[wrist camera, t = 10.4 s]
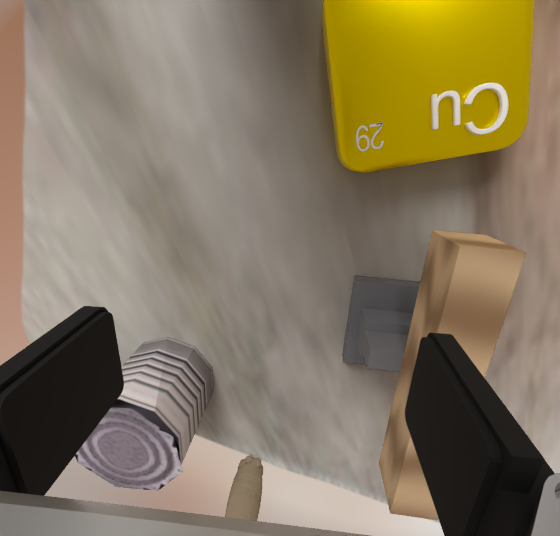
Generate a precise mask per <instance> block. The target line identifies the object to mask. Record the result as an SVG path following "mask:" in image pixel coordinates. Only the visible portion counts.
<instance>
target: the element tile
mask: <svg viewBox="0 0 560 536" xmlns="http://www.w3.org/2000/svg"><path fill="white" fill-rule="evenodd" d="M533 18H534V0H323V10H322V29H323V38H324V47H325V56H326V65H327V74H328V82H329V91H330V100H331V109H332V118H333V127H334V135H335V144H336V153H337V156H338V159H339V161H340V162H341V164H342V165H343V166H344V167H345V168H347V169H349V170H352V171H356V172H373V171H378V170H384V169H390V168H396V167H402V166H408V165H414V164H419V163H425V162H431V161H437V160H443V159H449V158H455V157H460V156H466V155H472V154H478V153H484V152H490V151H496V150H499V149H502V148H506V147H507V146H509V145H511V144H512V143H514V142H516V141H517V140H518V138H519V137H520V136H521V135H522V134H523V131H524V129H525V127H526V125H527V121H528V113H529V94H530V75H531V56H532V37H533Z"/></svg>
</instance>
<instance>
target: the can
mask: <svg viewBox="0 0 560 536" xmlns="http://www.w3.org/2000/svg"><path fill="white" fill-rule="evenodd" d="M121 368H122V374H123V379H124V388H123V391H122V393H121V395H120V396H119V398H118V399H117V400H116V402H115V403H114V404H113V406H112V407H111V408H110V410H109V411H108V412H107V413H106V415H105V416H104V417H103V419H102V420H101V421H100V423H99V424H98V425H97V427H96V428H95V429H94V431H93V432H92V433H91V435H90V436H89V437H88V438H87V440H86V441H85V442H84V444H83V445H82V446H81V448H80V449H79V450H78V452H77V453H76V454H75V457H76V459H77V461H78V463H79V464H81V465H82V466H84V467H85V468H87V469H89V470H90V471H92V472H94V473H95V474H97V475H98V476H100V477H101V478H103V479H105V480H106V481H108V482H109V483H111V484H113V485H114V486H116V487H124V488H136V489H145V490H146V489H147V490H156V491H158V490H159V489H161V488H162V487H163V486H165V485H166V484H167V483H169V482H170V481H171V480H172V479H174V478H175V477H176V476H178V475H179V474H180V473H181V472H182V467H181V464H182V462H183V460H184V457H185V455H186V453H187V450H188V448H189V445H190V443H191V441H192V439H193V436H194V434H195V432H196V429H197V427H198V425H199V422H200V420H201V418H202V415H203V413H204V411H205V408H206V406H207V404H208V401H209V399H210V397H211V394H212V392H213V375H212V367H211V365H210V364H209V363H208V362H207V360H206V359H205V358H204V357H203V356H202V354H201V353H200V352H199V351H198V350H197V348H196V347H195V346H192V345H189V344H186V343H183V342H181V341H178V340H175V339H172V338H170V337H167V338H162V339H158V340H153V341H149V342H145V343H143V344H142V345H141V346H140V347H139V348H138V349H137V351H136V352H135V353H134V354H133V355H132V356H131V357H130V358H129V359H128V360H127V361H126V363H125V364H124V365H123V366H122V367H121Z"/></svg>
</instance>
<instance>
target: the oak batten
mask: <svg viewBox="0 0 560 536" xmlns="http://www.w3.org/2000/svg"><path fill="white" fill-rule="evenodd" d="M525 255H526V252H523V251H521V250H519V249H517V248H514V247H512V246H510V245H508V244H505V243H503V242H501V241H498V240H496V239H494V238H492V237H489V236H487V235H481V234H470V233H459V232H448V231H436V230H432V234H431V238H430V242H429V247H428V251H427V255H426V260H425V264H424V269H423V273H422V277H421V282H420V286H419V290H418V295H417V299H416V303H415V308H414V312H413V317H412V321H411V325H410V330H409V334H408V338H407V343H406V347H405V351H404V356H403V360H402V365H401V369H400V373H399V378H398V382H397V386H396V391H395V395H394V399H393V404H392V408H391V413H390V417H389V421H388V426H387V430H386V434H385V439H384V443H383V447H382V452H381V456H380V461H379V464H380V469H381V474H382V478H383V483H384V487H385V492H386V496H387V501H388V505H389V510H390V513H392V514H399V515H406V516H412V517H419V518H426V519H433V520H438V515H437V512H436V509H435V506H434V503H433V500H432V497H431V494H430V491H429V488H428V486H427V483H426V480H425V477H424V474H423V471H422V468H421V465H420V462H419V459H418V456H417V453H416V450H415V447H414V444H413V441H412V439H411V436H410V433H409V430H408V427H407V424H406V420H405V407H406V402H407V398H408V393H409V389H410V385H411V380H412V376H413V371H414V367H415V362H416V358H417V353H418V349H419V344H420V340H421V338H422V337H427V335H428V334H429V333H430V332H431V333H444V334H452V335H453V336H454V338H455V339H456V340H457V342H458V343H459V344H460V346H461V347H462V348H463V350H464V351H465V352H466V354H467V355H468V356H469V358H470V359H471V361H472V362H473V363H474V365H475V366H476V367H477V369H478V370H479V371H480V373H481V374H482V375H483V377H484V378H485V375H486V372H487V369H488V366H489V363H490V360H491V357H492V354H493V351H494V348H495V345H496V342H497V339H498V336H499V333H500V330H501V327H502V324H503V321H504V318H505V315H506V312H507V309H508V306H509V303H510V300H511V297H512V294H513V291H514V288H515V285H516V282H517V279H518V276H519V273H520V270H521V267H522V264H523V261H524V258H525Z"/></svg>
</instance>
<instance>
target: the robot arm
mask: <svg viewBox="0 0 560 536" xmlns="http://www.w3.org/2000/svg"><path fill="white" fill-rule="evenodd" d="M123 388H124V379H123V374H122V368H121V362H120V356H119V350H118V344H117V338H116V332H115V326H114V321H113V316H112V314H111V313H109V312H108V311H107V309H106V308H104V307H92V306H84V307H82V308H81V309H79V310H78V311H76V312H75V313H74V314H72V315H71V316H69V317H68V318H67V319H65V320H64V321H62V322H61V323H60V324H58V325H57V326H55V327H54V328H53V329H51V330H50V331H48V332H47V333H46V334H44V335H43V336H41V337H40V338H39V339H37V340H36V341H34V342H33V343H32V344H30V345H29V346H27V347H26V348H25V349H23V350H22V351H21V352H19V353H18V354H16V355H15V356H14V357H12V358H11V359H9V360H8V361H6V362H5V363H4V364H2V365H1V366H0V536H368V535H361V534H353V533H345V532H338V531H330V530H321V529H314V528H306V527H298V526H291V525H283V524H275V523H267V522H259V521H251V520H243V519H235V518H226V517H218V516H210V515H202V514H194V513H185V512H177V511H168V510H160V509H152V508H144V507H135V506H127V505H119V504H110V503H100V502H93V501H84V500H75V499H67V498H58V497H48V496H44V495H45V493H46V492H47V491H48V490H49V489H50V487H51V486H52V485H53V483H54V482H55V480H56V479H57V478H58V477H59V475H60V474H61V473H62V471H63V470H64V469H65V467H66V466H67V465H68V463H69V462H70V461H71V460H72V458H73V457H74V456H75V454H76V453H77V452H78V450H79V449H80V448H81V446H82V445H83V444H84V442H85V441H86V440H87V438H88V437H89V436H90V435H91V433H92V432H93V431H94V429H95V428H96V427H97V425H98V424H99V423H100V421H101V420H102V419H103V417H104V416H105V415H106V413H107V412H108V411H109V410H110V408H111V407H112V406H113V404H114V403H115V402H116V400H117V399H118V398H119V396H120V395H121V393H122V391H123ZM405 420H406V424H407V427H408V430H409V433H410V436H411V439H412V441H413V444H414V447H415V450H416V453H417V456H418V459H419V462H420V465H421V468H422V471H423V474H424V477H425V480H426V483H427V486H428V488H429V491H430V494H431V497H432V500H433V503H434V506H435V509H436V512H437V515H438V518H439V521H440V524H441V526H442V529H443V532H444V535H445V536H560V473H556V474H555V473H554V472H553V471H552V469H551V468H550V467H549V465H548V464H547V462H546V461H545V459H544V458H543V457H542V455H541V454H540V452H539V451H538V450H537V448H536V447H535V446H534V444H533V443H532V442H531V440H530V439H529V438H528V436H527V435H526V434H525V432H524V431H523V429H522V428H521V427H520V425H519V424H518V423H517V421H516V420H515V419H514V417H513V416H512V415H511V413H510V412H509V411H508V409H507V408H506V407H505V405H504V404H503V402H502V401H501V400H500V398H499V397H498V396H497V394H496V393H495V392H494V390H493V389H492V388H491V386H490V385H489V384H488V382H487V381H486V379H485V378H484V377H483V375H482V374H481V373H480V371H479V370H478V369H477V367H476V366H475V365H474V363H473V362H472V361H471V359H470V358H469V356H468V355H467V354H466V352H465V351H464V350H463V348H462V347H461V346H460V344H459V343H458V342H457V340H456V339H455V338H454V336H453V335H452V334H444V333H431V332H430V333H429V334H428V335H427V337H422V338H421V340H420V344H419V349H418V353H417V358H416V362H415V367H414V371H413V376H412V380H411V385H410V389H409V393H408V398H407V402H406V407H405Z"/></svg>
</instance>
